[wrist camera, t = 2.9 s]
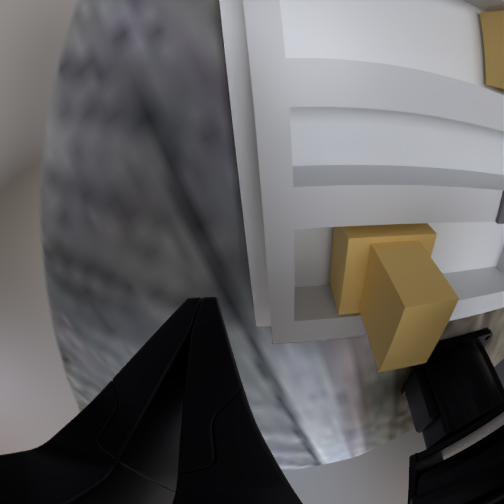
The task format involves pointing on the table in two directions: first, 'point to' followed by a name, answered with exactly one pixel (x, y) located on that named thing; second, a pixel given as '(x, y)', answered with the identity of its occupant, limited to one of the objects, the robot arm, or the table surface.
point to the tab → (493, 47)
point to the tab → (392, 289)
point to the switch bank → (363, 146)
